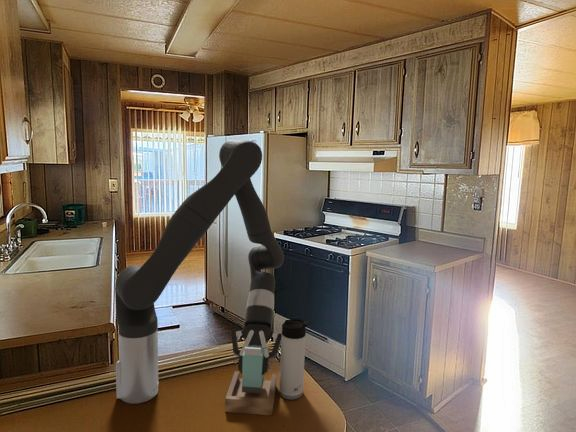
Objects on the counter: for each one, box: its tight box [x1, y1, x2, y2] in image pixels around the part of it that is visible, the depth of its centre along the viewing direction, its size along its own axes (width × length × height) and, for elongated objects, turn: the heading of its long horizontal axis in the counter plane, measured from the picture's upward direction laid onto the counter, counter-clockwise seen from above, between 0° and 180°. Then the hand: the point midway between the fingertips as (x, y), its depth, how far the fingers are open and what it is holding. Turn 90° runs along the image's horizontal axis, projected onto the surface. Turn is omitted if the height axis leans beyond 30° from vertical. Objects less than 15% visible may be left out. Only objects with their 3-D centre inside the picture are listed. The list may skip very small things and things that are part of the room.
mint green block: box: [241, 345, 265, 394], centre depth 102 cm, size 5×6×12 cm
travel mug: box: [278, 318, 309, 400], centre depth 104 cm, size 6×7×20 cm
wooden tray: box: [224, 370, 278, 416], centre depth 102 cm, size 11×12×4 cm
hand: (252, 373), depth 100 cm, fingers closed on mint green block, 4 cm apart
